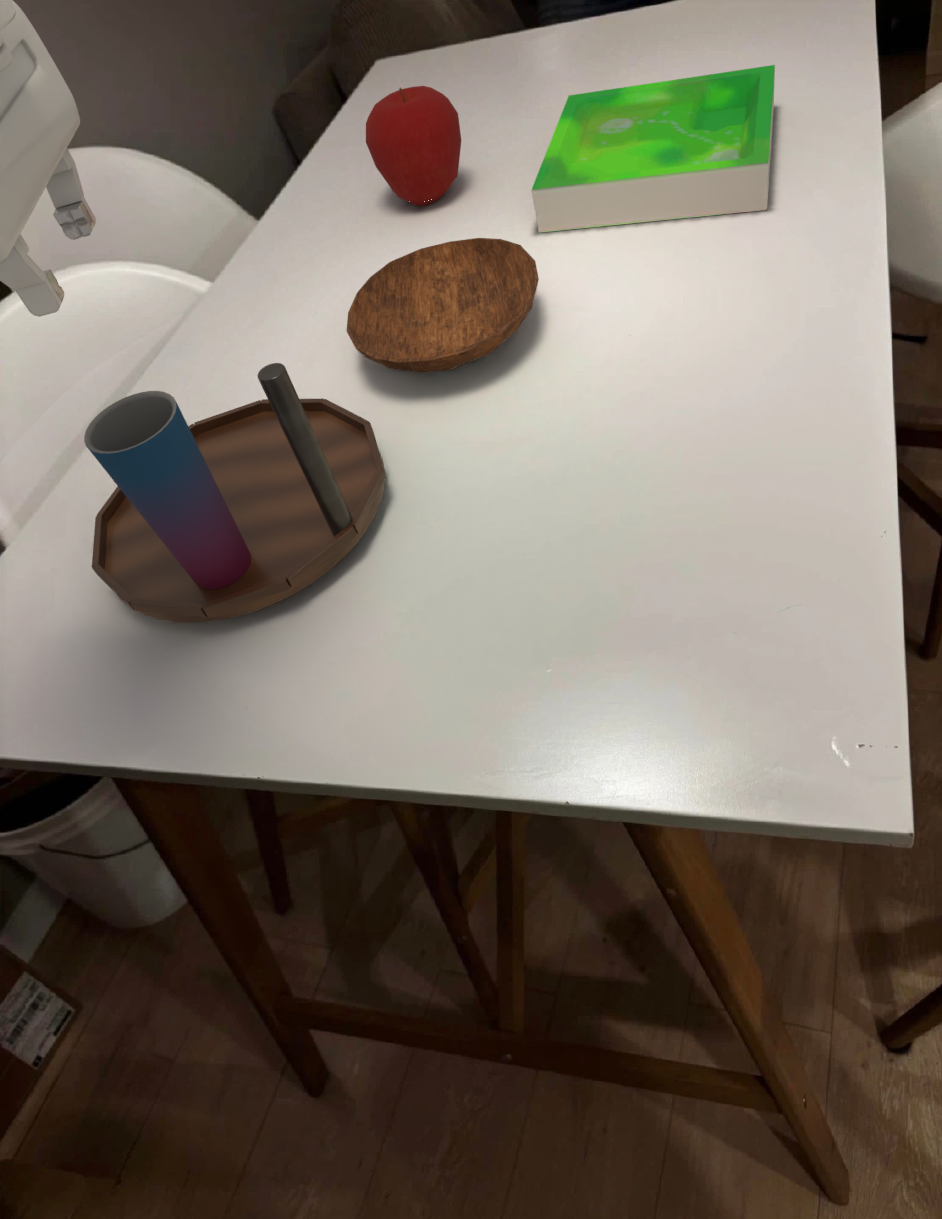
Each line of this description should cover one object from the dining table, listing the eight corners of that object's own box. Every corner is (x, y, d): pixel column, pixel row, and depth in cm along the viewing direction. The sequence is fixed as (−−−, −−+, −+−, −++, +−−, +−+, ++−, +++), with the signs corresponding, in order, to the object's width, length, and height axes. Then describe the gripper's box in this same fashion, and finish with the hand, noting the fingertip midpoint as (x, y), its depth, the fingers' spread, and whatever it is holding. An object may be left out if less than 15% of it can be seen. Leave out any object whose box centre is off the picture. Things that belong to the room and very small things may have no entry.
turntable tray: (411, 557, 70) (342, 384, 58) (98, 665, 70) (-36, 514, 58) (360, 384, 87) (299, 223, 75) (111, 470, 88) (10, 323, 75)
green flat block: (538, 232, 103) (531, 189, 99) (574, 135, 118) (568, 95, 114) (767, 209, 95) (768, 162, 91) (773, 109, 110) (774, 64, 106)
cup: (223, 608, 69) (125, 462, 58) (166, 584, 73) (64, 441, 62) (278, 549, 73) (195, 399, 62) (222, 528, 76) (134, 383, 65)
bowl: (547, 266, 97) (540, 222, 94) (545, 387, 83) (536, 341, 79) (376, 296, 101) (362, 255, 98) (346, 416, 87) (329, 374, 84)
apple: (472, 209, 110) (446, 94, 101) (382, 228, 112) (348, 117, 103) (474, 167, 118) (450, 56, 108) (390, 185, 120) (359, 79, 110)
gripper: (-79, -29, 51) (57, 207, 61) (-236, 97, 37) (-26, 374, 47) (22, -62, 50) (143, 182, 60) (-100, 54, 36) (83, 344, 47)
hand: (68, 268), depth 54 cm, fingers open, 8 cm apart
